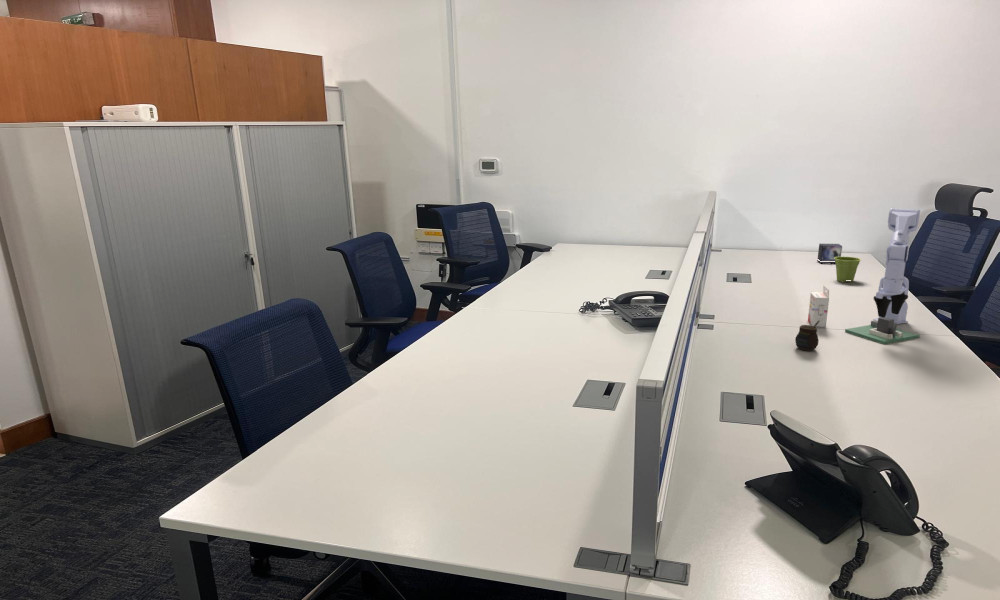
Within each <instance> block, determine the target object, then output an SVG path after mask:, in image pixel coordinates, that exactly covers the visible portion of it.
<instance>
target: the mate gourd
mask: <svg viewBox="0 0 1000 600" xmlns="http://www.w3.org/2000/svg"><path fill="white" fill-rule="evenodd" d="M819 322H820V321H817V323H816V324H815V325H814V326H812V325H811V324H810V325H809V324H801V325H799V329H798V330H799V331H798V333H797V334H796V337H795V342H794V343H795V346H796V348H797V349H799V350H801V351H804V352H805V351H806V352H811V351H814V350H815V349H817V347H818V345H819V337H818V336H819V335H818V333H817V332H818V328H817V327H815V326H816V325H817V324H818V323H819Z"/></svg>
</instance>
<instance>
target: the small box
mask: <svg viewBox="0 0 1000 600" xmlns="http://www.w3.org/2000/svg"><path fill="white" fill-rule="evenodd" d="M842 251H843V245H841V244H840V243H818V252H817V259H819V260H820V261H835V259H834V257H842ZM817 261H818V260H816V262H817ZM820 261H818V263H819V264H820V263H835V262H820Z"/></svg>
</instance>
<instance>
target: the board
mask: <svg viewBox="0 0 1000 600" xmlns="http://www.w3.org/2000/svg"><path fill="white" fill-rule="evenodd" d="M877 323H878V319H877V320H873V319H872V320H871V321H870V324H868V325H862V326H857V327H855V326H854V327H851V328H850V327H849V328H845V329H844V332H845V333H847V334H850V335H853V336H857V337H860V338H862V339H863V338H864V339H867V340H869V341H872V342H876V343H879V344H882V345H888V344H891V343H892V344H893V343H898V342H903V341H909V340H914V339H917V338H920V334H918V333H915V332H911V331H907V330H903V329H901V328H898V327H897V325H898V324H897V323H895V322H894V325H893V328H894V329H896V332H895V337H893V335H892V334H886V333H882V332H879V331H877Z"/></svg>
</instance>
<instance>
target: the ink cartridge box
mask: <svg viewBox="0 0 1000 600" xmlns="http://www.w3.org/2000/svg"><path fill="white" fill-rule="evenodd" d="M822 287H823V288H822V291H823V292H822V291H821V292H820V291H819V292H816V291H813V292H812V291H811V292H810V295H809V296H810V297H809V306H808V313H807V314H808V315H807V321H808V323H809V324H810V325H811V326H814V325H815V324H816V323H817V321H820V322H819V323H818V324H817V325H816V326H815V327H816V328H817V327H819V328H826V327H827V321H828V320H827V319H828V312H829V311H828V310H829V303H830V289H828V288H827V287H826V285H824V284H823V286H822Z"/></svg>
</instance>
